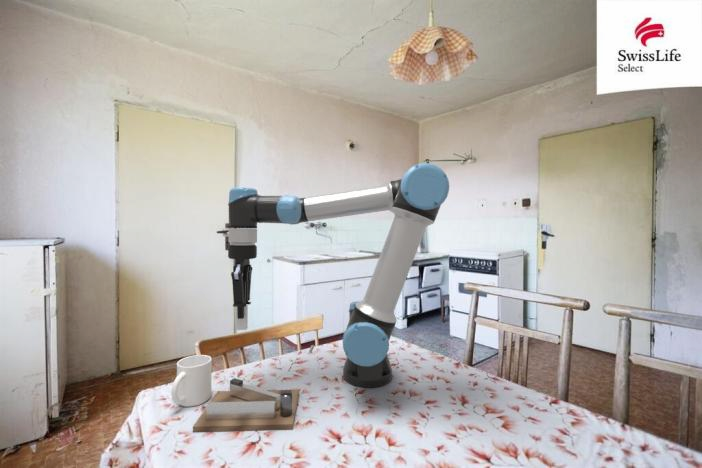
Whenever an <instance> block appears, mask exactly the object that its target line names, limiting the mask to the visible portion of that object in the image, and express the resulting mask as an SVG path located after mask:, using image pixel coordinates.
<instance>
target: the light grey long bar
mask: <svg viewBox="0 0 702 468" xmlns="http://www.w3.org/2000/svg"><path fill="white" fill-rule="evenodd" d="M266 390H267V389H263V388H259V387H256V386H252V385H249V384H245V383H244V380H242V379H239V378H236V377H233V378H232V379H230V380H229V391H230V395H232V396H235V397H238V398H242V399H245V400H248V401H276V406H275V409H276V410H277V409H278V408H279V407H280V394H277V393H273V392H270V391H266Z"/></svg>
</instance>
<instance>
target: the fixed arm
mask: <svg viewBox="0 0 702 468" xmlns="http://www.w3.org/2000/svg"><path fill="white" fill-rule="evenodd" d="M275 406H276V401H251V402H210V401H209V402H208V403H207V404H206V407H205V409H206V420H230V419H270V418H275ZM291 415H292V391H281V394H280V416H281V417H290V416H291Z"/></svg>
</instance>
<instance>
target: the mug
mask: <svg viewBox="0 0 702 468" xmlns="http://www.w3.org/2000/svg"><path fill="white" fill-rule="evenodd" d="M212 361H213V360H212V356H210V355H205V354H195V355H194V354H193V355H189V356H186V357H185V356H184V357H183V358H181V359H180V360H178V361H177V362H176V377H175V379H174V381H173V383H172V387H171V399H172V402H173V403H174V404H176V405H177V404H178V405H179V406H181V407H186V408H187V407H188V408H189V407H190V408H192V407H195V406H200V405H202V404H205V403H206V402H207V401H208V400H209V399H210V398H211V396H212V374H213V373H212V368H213V367H212V364H213V363H212Z"/></svg>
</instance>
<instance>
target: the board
mask: <svg viewBox="0 0 702 468" xmlns="http://www.w3.org/2000/svg"><path fill="white" fill-rule="evenodd" d="M265 390H266V391H270V392H273V393H277V394H281V391H292V415H291V416H290V417H281V416H280V407H279V408H278V409H277V410H276V409H275V418H270V419H230V420H206V408H205V409H204V410H203V412H201V414H200V416H199V417H198V418H197V420H196V422H195V423H194V424H193V426H192V433H203V432H204V433H205V432H207V433H211V432H213V433H214V432H240V431H241V432H243V431H244V432H245V431H246V432H247V431H251V432H252V431H280V430H282V431H283V430H285V431H286V430H293V428H294V423H295V419H296V413H297V407H298V403H299V399H300V398H299V397H300V389H265ZM209 402H251V401H248V400H245V399H242V398H238V397H235V396H232V395H230V390H217V391H216V393H215V394H214V396H213V397H212V398H211V400H210V401H209Z"/></svg>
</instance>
